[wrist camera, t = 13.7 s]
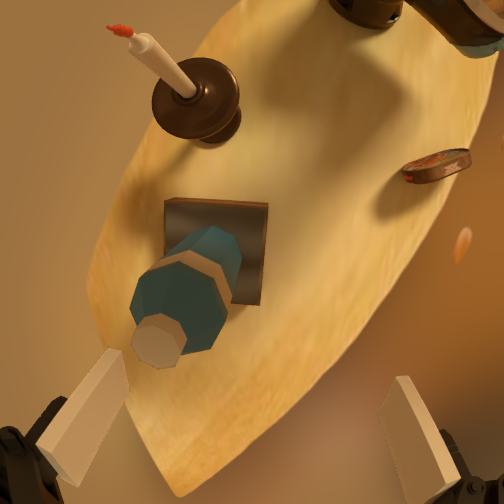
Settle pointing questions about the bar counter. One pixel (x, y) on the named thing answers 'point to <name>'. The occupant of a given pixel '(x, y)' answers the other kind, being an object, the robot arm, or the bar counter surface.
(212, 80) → the candlestick
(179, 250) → the water bottle
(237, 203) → the stand
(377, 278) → the bar counter surface
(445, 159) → the tin
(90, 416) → the robot arm
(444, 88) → the bar counter surface
